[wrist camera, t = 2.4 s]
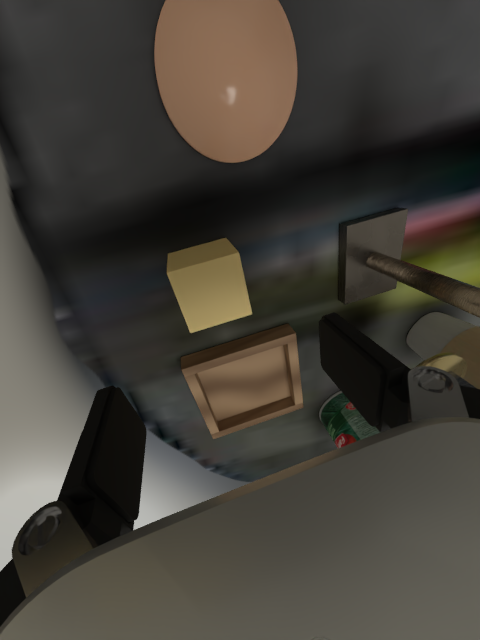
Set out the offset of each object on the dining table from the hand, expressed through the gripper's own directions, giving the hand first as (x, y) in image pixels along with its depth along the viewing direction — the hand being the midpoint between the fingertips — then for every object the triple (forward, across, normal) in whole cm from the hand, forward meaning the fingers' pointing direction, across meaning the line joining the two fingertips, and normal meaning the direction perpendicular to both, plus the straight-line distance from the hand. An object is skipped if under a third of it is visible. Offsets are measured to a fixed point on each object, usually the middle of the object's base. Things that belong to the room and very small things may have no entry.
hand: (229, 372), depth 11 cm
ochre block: (+13, -1, -1) cm, 13 cm away
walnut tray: (+13, -2, +13) cm, 19 cm away
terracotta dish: (+12, -6, -13) cm, 18 cm away
